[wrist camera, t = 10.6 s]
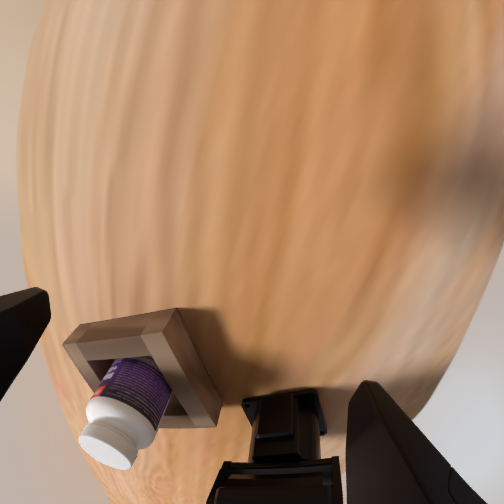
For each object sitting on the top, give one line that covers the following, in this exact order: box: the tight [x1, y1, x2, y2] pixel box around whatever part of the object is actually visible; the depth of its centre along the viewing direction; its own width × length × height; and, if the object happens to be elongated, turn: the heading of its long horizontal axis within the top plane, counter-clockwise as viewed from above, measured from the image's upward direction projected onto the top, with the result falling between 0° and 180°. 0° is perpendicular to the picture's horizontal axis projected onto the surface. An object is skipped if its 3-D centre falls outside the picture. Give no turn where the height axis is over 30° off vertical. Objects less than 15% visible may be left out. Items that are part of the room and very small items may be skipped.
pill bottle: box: [79, 355, 173, 470], centre depth 20 cm, size 5×5×10 cm
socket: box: [62, 308, 223, 428], centre depth 24 cm, size 10×10×3 cm
